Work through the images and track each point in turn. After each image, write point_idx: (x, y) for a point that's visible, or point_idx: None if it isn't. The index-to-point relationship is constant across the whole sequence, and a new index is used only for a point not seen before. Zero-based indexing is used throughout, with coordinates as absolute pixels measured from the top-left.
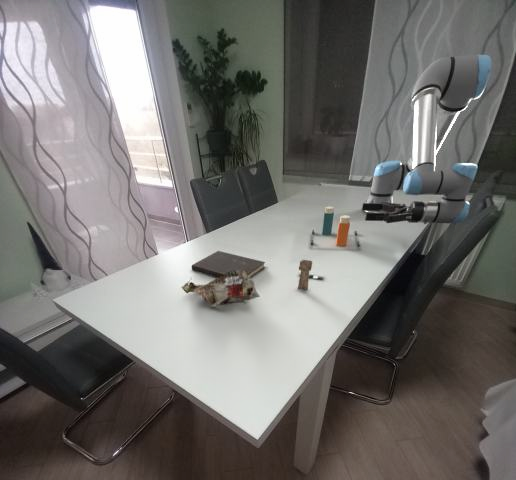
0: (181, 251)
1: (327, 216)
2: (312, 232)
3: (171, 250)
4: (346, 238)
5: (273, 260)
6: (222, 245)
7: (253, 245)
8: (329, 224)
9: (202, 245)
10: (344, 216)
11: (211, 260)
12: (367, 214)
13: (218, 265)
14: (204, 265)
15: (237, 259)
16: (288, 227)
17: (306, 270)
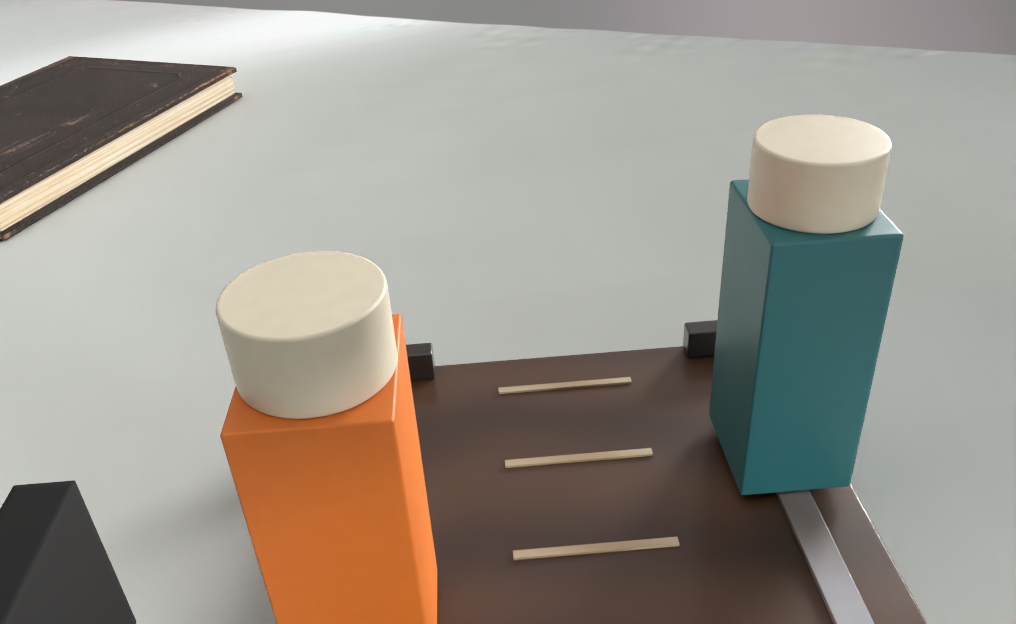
0: (317, 27)
1: (739, 237)
2: (686, 325)
3: (330, 13)
4: (279, 612)
5: (122, 252)
6: (400, 78)
7: (410, 149)
8: (742, 356)
9: (396, 44)
10: (319, 282)
11: (101, 77)
12: (16, 530)
13: (24, 100)
14: (44, 76)
15: (82, 125)
16: (889, 211)
17: None
